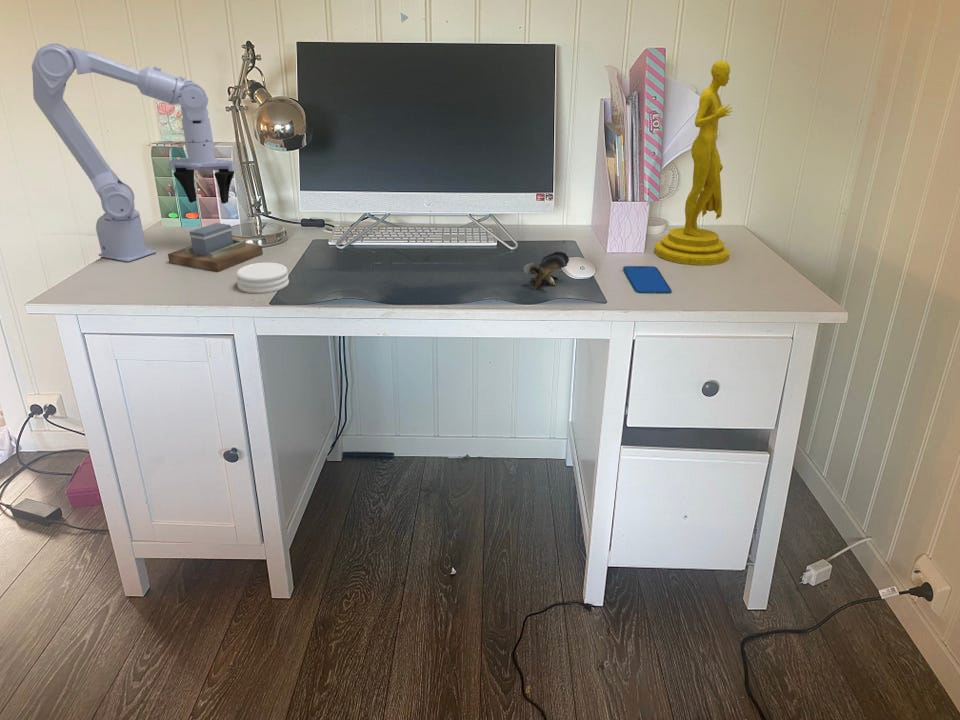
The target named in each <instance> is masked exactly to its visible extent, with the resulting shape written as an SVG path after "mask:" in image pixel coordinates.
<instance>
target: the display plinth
mask: <svg viewBox="0 0 960 720" xmlns="http://www.w3.org/2000/svg"><path fill="white" fill-rule="evenodd" d="M232 239H233V245H230V246H227V247H224V248H222V249H219V250H216V251H213V252H210V253H209V256H202V255H196V254H193V248H192V245H190V246H187V247H184V248H181V249H178V250H176V251H173V252H169V253H167V257H168V262H169V264H173V265H174V264H175V265H180V266H185V267H189V268H194V269H195V268H196V269H200V270H205V271H206V270H207V271H211V272H216V273H219V272H221V271H224V270H227V269H229V268H232V267H234V266H237V265H239V264H241V263H244V262H246V261H249V260H252V259H254V258H256V257H259V256H262V255H263V253H264V252H263V246H262V245H261V244H255V243H254V244H253V243H247V242H245V240H244V239H239V238H233V237H232Z"/></svg>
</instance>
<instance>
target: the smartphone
mask: <svg viewBox="0 0 960 720" xmlns="http://www.w3.org/2000/svg"><path fill="white" fill-rule="evenodd" d="M622 271H623V273H624V275H625V277H626V278H627V280H628V282H629V284H630V285H631V287H632V289H633V291H634V292H635V293H636V294H659V295H660V294H666V295H667V294H672V289H671V287H670V286H669V284H668V283H667V281H666V280H665V278H664V276H663V275H662V273H661V272H660V270H659V269H658V267H656V266H653V265H651V266H650V265H649V266H648V265H647V266H646V265H645V266H644V265H641V266H640V265H626V266H623V267H622Z"/></svg>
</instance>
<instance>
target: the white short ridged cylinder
mask: <svg viewBox="0 0 960 720" xmlns="http://www.w3.org/2000/svg"><path fill="white" fill-rule="evenodd" d="M288 272H289V270H288V268H287V266H285V265H284V264H281V263H278V262H277V263H276V262H257V263H255V262H254V263H251V264H248V265H247V264H246V265H245V266H242V267H240V268H238V269H237V270H236V272H235V276H236V282H237V288H238V289H239V290H240V291H242V292H244V293H248V294H266V293H267V294H268V293H274V292H278V291H281V290H283V289H285V288H286V287H287V286H289V282H290V280H289V274H288Z"/></svg>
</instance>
